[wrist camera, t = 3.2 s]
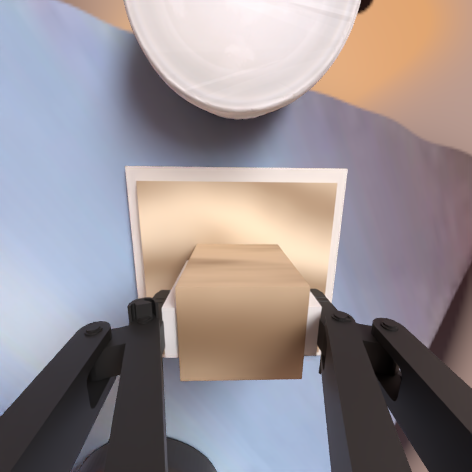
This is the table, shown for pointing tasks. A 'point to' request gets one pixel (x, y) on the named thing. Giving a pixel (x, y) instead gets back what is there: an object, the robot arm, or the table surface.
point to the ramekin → (241, 48)
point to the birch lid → (237, 270)
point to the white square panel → (233, 176)
